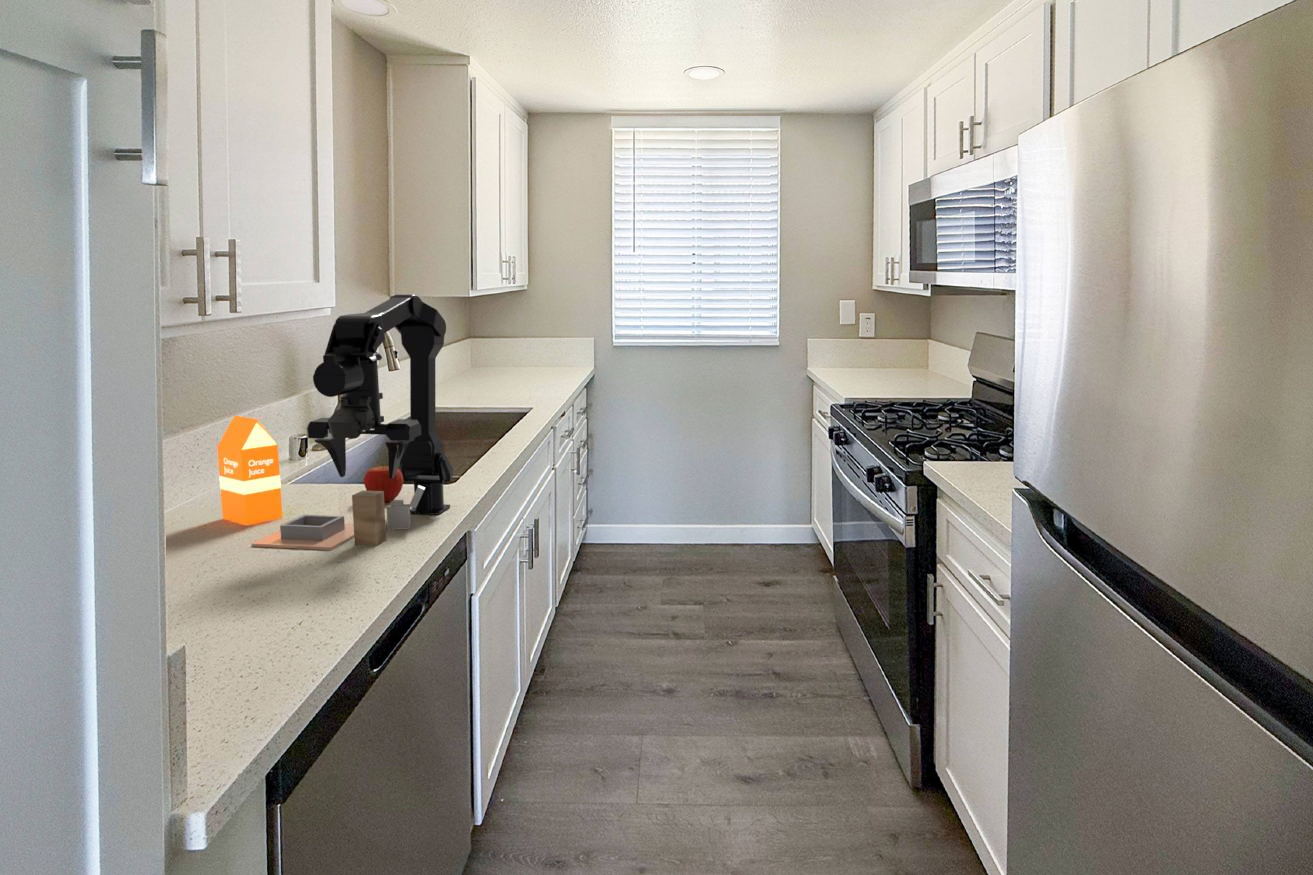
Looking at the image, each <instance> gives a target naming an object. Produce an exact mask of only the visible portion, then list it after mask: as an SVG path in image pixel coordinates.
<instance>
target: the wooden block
mask: <svg viewBox="0 0 1313 875" xmlns="http://www.w3.org/2000/svg"><path fill="white" fill-rule="evenodd" d="M351 501H352V520H353V525H354V538H353V539H354V546H360V547H361V546H362V547H377V546H379V545H381V544H383V543H384V542H387V530H386V529H387V527H386V526H387V525H386V510H385V508H386V507H385V502H384V491H366V490H360V491H358V492H356V493H354V494H352V495H351Z"/></svg>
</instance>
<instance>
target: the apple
mask: <svg viewBox="0 0 1313 875" xmlns="http://www.w3.org/2000/svg"><path fill="white" fill-rule="evenodd" d="M403 484H404V479H403V475H402V471H401V469H399V468H398V469H397V471H396V474H395V477H394V478H392V479H390V477H389V465H384V464H382V465H379V466H375V467H372V468H370V469H368V470H367V471H366V472H365V474H364V477H363V485H364V487H365V491H384V503H389V502H390V503H391V502H392V501H394V500H396V498H397V497H398V496H399V495H400V492H401V491H402V489H403Z"/></svg>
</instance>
